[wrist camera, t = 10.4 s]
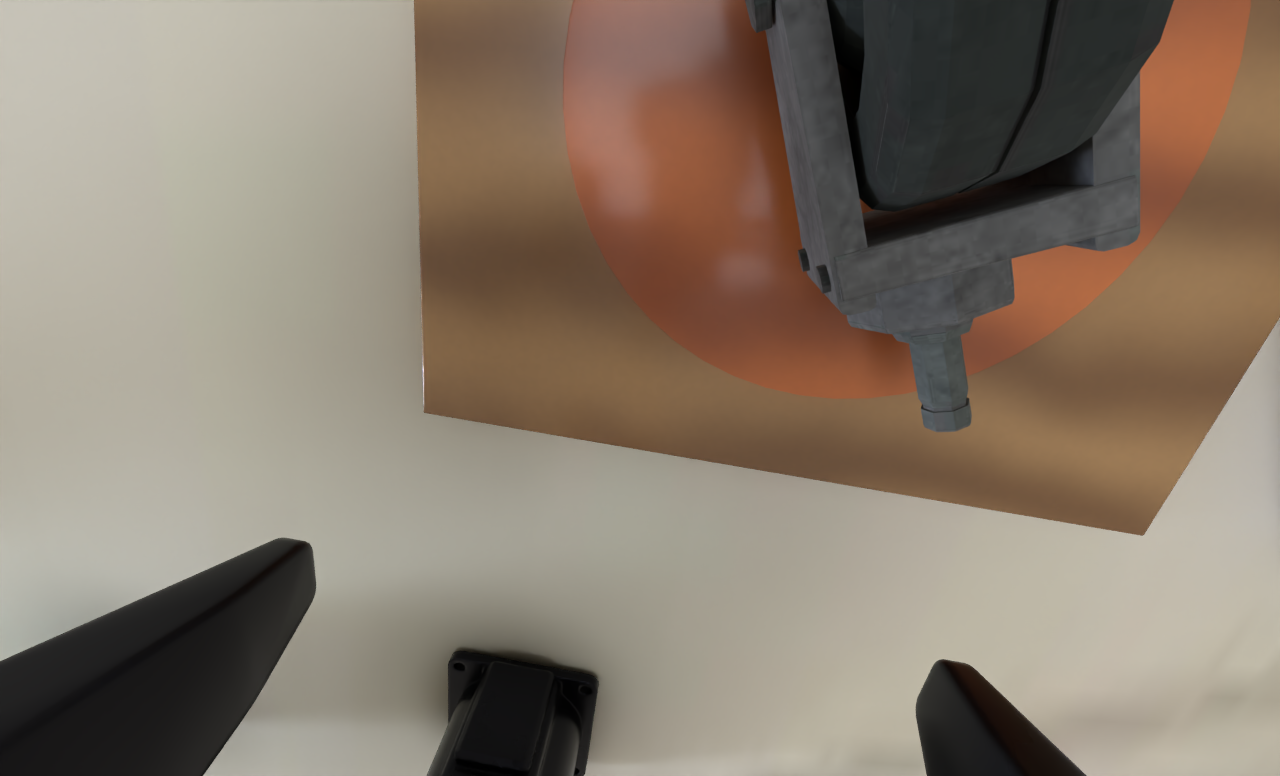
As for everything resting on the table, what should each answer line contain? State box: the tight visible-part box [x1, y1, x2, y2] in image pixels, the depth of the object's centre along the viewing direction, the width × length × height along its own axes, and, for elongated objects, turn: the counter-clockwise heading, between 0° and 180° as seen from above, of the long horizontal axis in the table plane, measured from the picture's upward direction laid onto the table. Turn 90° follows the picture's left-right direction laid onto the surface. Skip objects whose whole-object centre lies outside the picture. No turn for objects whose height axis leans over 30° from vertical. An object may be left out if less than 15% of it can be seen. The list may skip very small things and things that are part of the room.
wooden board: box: [414, 0, 1280, 535], centre depth 15 cm, size 22×24×1 cm
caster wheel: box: [745, 0, 1174, 432], centre depth 11 cm, size 6×10×15 cm
